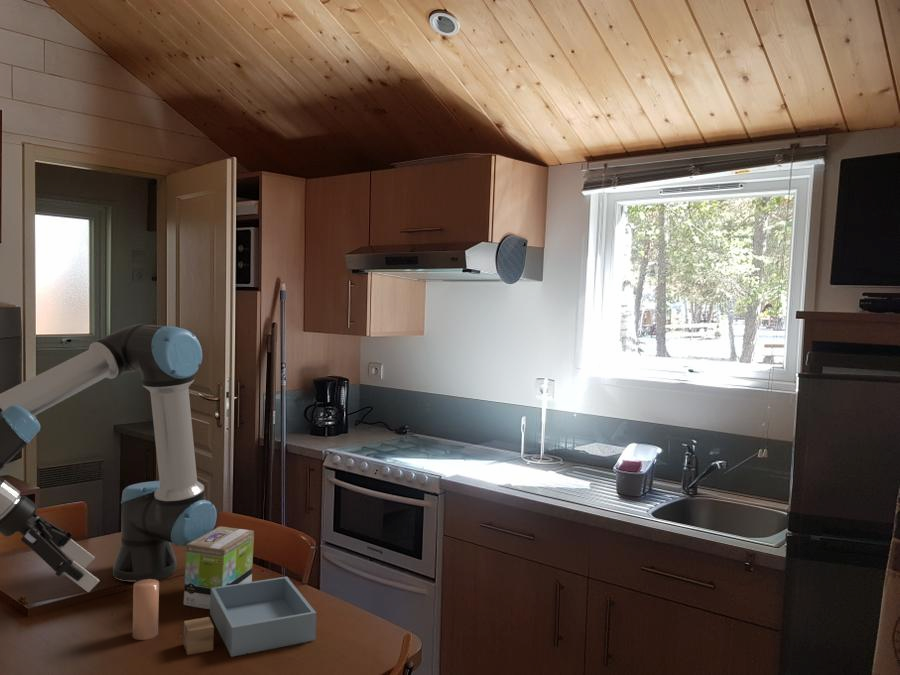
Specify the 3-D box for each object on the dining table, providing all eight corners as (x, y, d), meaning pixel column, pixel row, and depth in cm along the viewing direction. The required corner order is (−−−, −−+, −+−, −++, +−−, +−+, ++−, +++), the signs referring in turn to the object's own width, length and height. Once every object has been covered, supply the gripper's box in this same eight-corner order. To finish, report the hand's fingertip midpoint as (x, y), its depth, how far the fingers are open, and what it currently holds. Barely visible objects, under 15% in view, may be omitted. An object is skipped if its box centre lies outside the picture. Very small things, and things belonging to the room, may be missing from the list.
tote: (210, 613, 166) (210, 587, 166) (286, 601, 175) (286, 576, 175) (231, 656, 148) (232, 627, 147) (315, 640, 156) (316, 612, 156)
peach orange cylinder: (131, 631, 156) (132, 581, 156) (156, 627, 159) (157, 577, 158) (133, 641, 152) (134, 589, 151) (159, 637, 154) (160, 586, 154)
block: (183, 644, 152) (184, 621, 152) (208, 640, 154) (208, 616, 154) (187, 655, 148) (188, 631, 147) (213, 650, 150) (213, 626, 150)
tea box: (222, 612, 168) (223, 548, 167) (182, 606, 170) (184, 543, 169) (253, 587, 182) (254, 528, 182) (216, 582, 184) (217, 524, 184)
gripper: (-7, 506, 151) (74, 567, 159) (-14, 545, 129) (80, 613, 137) (23, 478, 153) (101, 540, 161) (21, 512, 131) (111, 581, 140)
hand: (91, 574), depth 149 cm, fingers open, 13 cm apart
